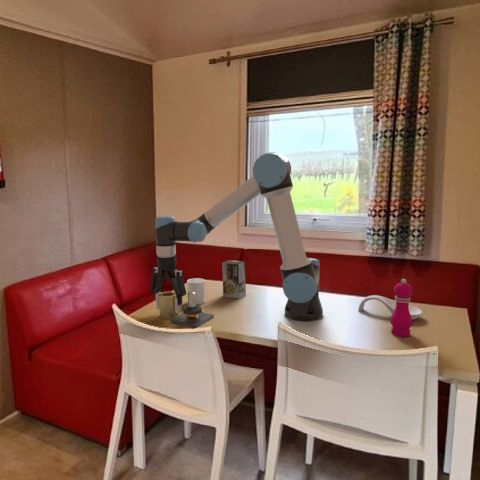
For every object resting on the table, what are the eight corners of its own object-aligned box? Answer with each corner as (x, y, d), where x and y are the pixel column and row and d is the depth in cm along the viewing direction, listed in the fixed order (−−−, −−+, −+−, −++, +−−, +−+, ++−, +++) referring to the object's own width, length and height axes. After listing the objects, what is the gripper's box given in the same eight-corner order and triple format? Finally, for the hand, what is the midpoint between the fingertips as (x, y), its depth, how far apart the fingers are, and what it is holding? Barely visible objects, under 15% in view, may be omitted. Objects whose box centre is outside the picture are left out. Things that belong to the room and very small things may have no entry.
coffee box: (246, 295, 187) (246, 261, 184) (239, 299, 181) (238, 264, 179) (230, 292, 192) (229, 259, 189) (222, 296, 186) (221, 262, 183)
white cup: (207, 299, 181) (206, 278, 179) (203, 305, 173) (203, 283, 172) (189, 299, 182) (189, 277, 180) (185, 305, 174) (185, 282, 173)
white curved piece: (423, 315, 159) (424, 298, 158) (420, 325, 149) (421, 307, 148) (362, 306, 171) (363, 290, 170) (355, 315, 161) (356, 298, 159)
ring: (204, 310, 158) (204, 306, 157) (194, 315, 152) (194, 311, 152) (190, 307, 161) (190, 303, 161) (179, 313, 155) (179, 309, 155)
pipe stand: (213, 317, 159) (213, 290, 157) (196, 327, 149) (195, 299, 147) (189, 312, 165) (188, 286, 163) (170, 322, 155) (169, 294, 153)
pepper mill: (406, 329, 145) (409, 275, 142) (415, 337, 138) (419, 281, 135) (386, 329, 145) (389, 276, 142) (394, 338, 138) (398, 281, 135)
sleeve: (181, 314, 163) (180, 293, 161) (170, 320, 157) (169, 298, 155) (167, 311, 166) (166, 290, 165) (156, 317, 160) (155, 295, 159)
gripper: (194, 256, 155) (196, 311, 159) (151, 251, 166) (154, 303, 170) (182, 260, 149) (184, 317, 152) (138, 254, 159) (141, 308, 163)
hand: (168, 310), depth 161 cm, fingers open, 9 cm apart
